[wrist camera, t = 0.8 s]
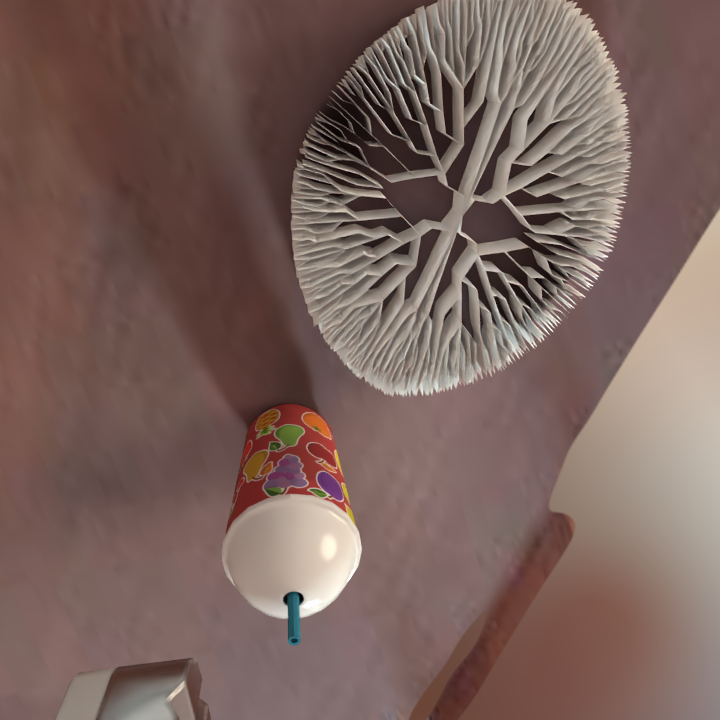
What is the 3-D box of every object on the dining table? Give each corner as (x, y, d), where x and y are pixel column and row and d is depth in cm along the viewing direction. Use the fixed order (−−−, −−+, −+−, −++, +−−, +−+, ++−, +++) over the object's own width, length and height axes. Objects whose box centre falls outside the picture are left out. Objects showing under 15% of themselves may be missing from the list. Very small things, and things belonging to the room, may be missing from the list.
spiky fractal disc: (687, 57, 41) (713, 57, 39) (509, 413, 51) (521, 431, 49) (369, -89, 36) (376, -101, 33) (241, 341, 46) (239, 357, 43)
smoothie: (250, 485, 51) (233, 710, 33) (224, 398, 48) (190, 598, 30) (349, 466, 52) (385, 678, 34) (332, 378, 48) (362, 563, 30)
